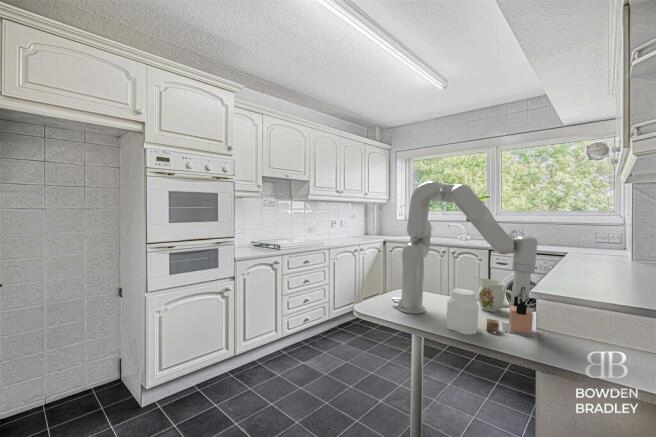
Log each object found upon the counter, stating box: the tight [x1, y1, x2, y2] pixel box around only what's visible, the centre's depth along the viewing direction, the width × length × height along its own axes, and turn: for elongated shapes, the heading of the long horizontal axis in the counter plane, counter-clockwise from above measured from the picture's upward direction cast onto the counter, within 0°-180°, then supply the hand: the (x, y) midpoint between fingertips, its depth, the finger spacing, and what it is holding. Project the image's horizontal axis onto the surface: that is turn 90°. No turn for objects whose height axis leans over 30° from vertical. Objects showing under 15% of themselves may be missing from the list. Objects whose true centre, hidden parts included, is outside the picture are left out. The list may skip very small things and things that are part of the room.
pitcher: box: [474, 277, 514, 313], centre depth 149 cm, size 11×18×14 cm, turn 40°
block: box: [486, 318, 500, 334], centre depth 125 cm, size 4×4×4 cm
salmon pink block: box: [508, 305, 534, 334], centre depth 126 cm, size 7×7×8 cm
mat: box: [501, 322, 534, 338], centre depth 127 cm, size 10×10×1 cm
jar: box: [445, 288, 480, 335], centre depth 126 cm, size 12×10×15 cm
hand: (519, 310), depth 126 cm, fingers open, 9 cm apart
